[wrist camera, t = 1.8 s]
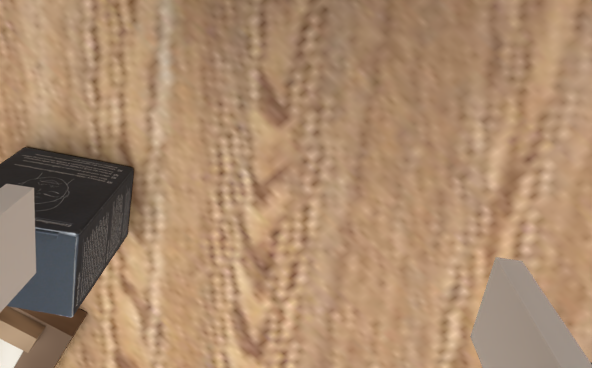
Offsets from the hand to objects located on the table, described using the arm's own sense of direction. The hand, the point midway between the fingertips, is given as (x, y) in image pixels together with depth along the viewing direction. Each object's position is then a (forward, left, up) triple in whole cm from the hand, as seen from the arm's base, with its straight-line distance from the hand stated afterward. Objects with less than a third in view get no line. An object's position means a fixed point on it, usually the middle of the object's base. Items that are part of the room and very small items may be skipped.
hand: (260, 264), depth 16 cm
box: (-9, -15, -23) cm, 29 cm away
